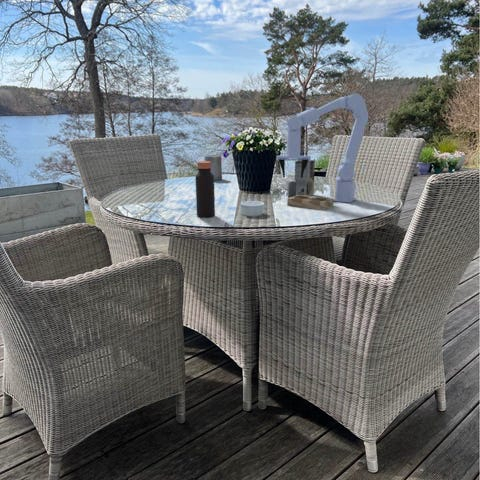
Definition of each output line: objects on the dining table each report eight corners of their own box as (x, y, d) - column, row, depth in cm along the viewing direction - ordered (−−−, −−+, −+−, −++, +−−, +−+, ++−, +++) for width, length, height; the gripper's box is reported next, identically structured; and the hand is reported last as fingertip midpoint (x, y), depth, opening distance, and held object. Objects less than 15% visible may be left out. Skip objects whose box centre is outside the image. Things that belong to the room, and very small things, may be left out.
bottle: (193, 216, 157) (191, 162, 151) (204, 212, 162) (202, 160, 156) (207, 218, 153) (205, 163, 147) (218, 215, 159) (217, 161, 153)
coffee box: (301, 193, 201) (302, 159, 197) (313, 194, 198) (315, 159, 193) (293, 196, 194) (294, 161, 189) (306, 197, 191) (308, 161, 186)
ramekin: (268, 214, 161) (268, 202, 159) (253, 218, 154) (253, 206, 153) (250, 210, 166) (250, 199, 165) (235, 214, 160) (235, 203, 159)
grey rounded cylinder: (290, 198, 189) (290, 179, 186) (297, 199, 187) (298, 180, 184) (286, 199, 186) (287, 180, 183) (293, 200, 184) (294, 181, 182)
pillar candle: (215, 177, 251) (214, 152, 247) (225, 179, 244) (224, 153, 240) (202, 179, 246) (200, 153, 241) (211, 181, 238) (210, 154, 234)
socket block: (298, 201, 183) (298, 193, 182) (332, 205, 174) (333, 197, 173) (287, 205, 175) (287, 197, 174) (323, 209, 166) (323, 201, 165)
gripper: (309, 144, 183) (308, 176, 187) (276, 144, 184) (275, 175, 188) (311, 146, 176) (310, 178, 180) (276, 146, 177) (276, 178, 181)
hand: (292, 177), depth 184 cm, fingers open, 7 cm apart
